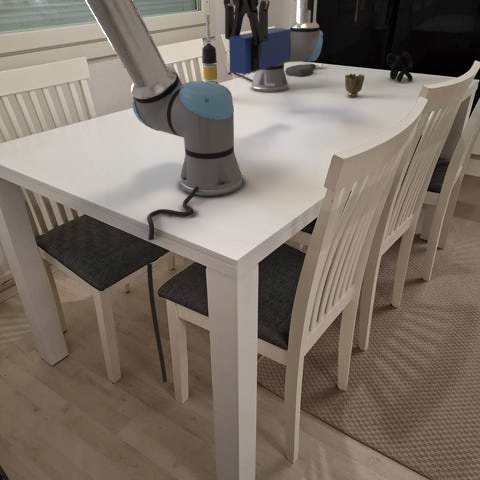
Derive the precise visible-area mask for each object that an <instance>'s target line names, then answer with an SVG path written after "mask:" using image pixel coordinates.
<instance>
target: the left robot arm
mask: <svg viewBox="0 0 480 480" xmlns="http://www.w3.org/2000/svg"><path fill="white" fill-rule="evenodd" d="M85 2H86V4H87V6H88V8H89V9H90V11H91V13H92V15H93V16H94V18H95V19H96V21H97V24H98V25H99V26H100V28H101V30H102V32H103V34H104V35H105V37H106V38H107V41H108V42H109V44H110V45H111V47H112V49H113V51H114V53H115V54H116V56H117V57H118V59H119V61H120V64H121V65H122V66H123V68H124V70H125V71H126V73H127V75H128V77H129V79H130V80H131V82H132V85H131V88H130V92H131V95H132V96H131V98H132V103H131V107H132V110H133V113H134V115H135V117H136V118H137V120H138V121H139V122H140V123H141V124H143V125H144V126H146V127H148V128H150V129H151V130H155V131H158V132H162V133H167V134H169V135H173V136H177V137H180V138H183V143H184V154H185V155H184V158H183V164H182V168H181V171H180V177H179V183H180V184H179V185H180V188H181V189H182V191H184V192H186V193H187V194H188V195H187V197H186V198H185V199H184V200H183V201H182V208H183V209H184V210H185V211H178V210H174V209H168V208H159V209H156V210H153V211H151V212H150V213H148V214H147V216H146V220H147V224H148V230H149V232H148V239H147V240H148V241H153V240H154V236H155V224H154V221H153V218H154V217H155V216H158V215H162V214H163V215H164V214H165V215H171V216H175V217H189V216H191V215H193V214H194V211H195V210H194V208H193V207H191V206H189V205H188V203H189V202H190V201H191V200H192V199H193V198H194V196H199V197H221V196H224V195H229V194H232V193H234V192H235V191H237V190H239V189H240V188H241V187H242V185H243V174H242V171H241V168H240V165H239V163H238V160H237V157H236V154H235V125H234V124H235V121H234V118H235V117H234V114H235V113H234V112H235V108H234V102H233V95H232V92H231V91H230V89H229V87H228V88H227V86H224V85H223V84H220V83H219V82H218V83H215V82H207V81H205V80H193V81H192V80H191V81H188V82H185V83H184V84H183V82H182V80H181V79H180V76H179V74H178V72H177V69H175V68H174V67H173V66H170V65H168V64H167V65H166V63H165V60H164V59H163V57H162V54H161V52H160V50H159V48H158V46H157V44H156V42H155V40H154V39H153V36H152V34H151V32H150V30H149V28H148V27H147V24H146V22H145V20H144V18H143V16H142V14H141V12H140V10H139V8H138V6H137V4H136V2H135V0H85ZM222 3H223V6H224V14H225V15H224V38H225V40H228V41H229V37H231V36H237V35H241V31H242V27H243V26H242V25H243V22H244V17H245V16H246V17H247V19H248V22H249V26H250V31H251V33H252V36H253V41H254V43H252V44H253V45H251V70H257V69H259V57H261V45H262V43H264V42H267V41H268V29H269V8H270V5H271V4H270V3H271V2H270V0H223V2H222ZM146 268H147V269H146V271H147V285H148V286H147V287H148V297H149V304H150V312H151V318H152V324H153V330H154V337H155V342H156V347H157V352H158V358H159V364H160V372H161V378H162V382H163V383H167V382H168V377H167V370H166V364H165V357H164V351H163V346H162V340H161V333H160V329H159V322H158V316H157V308H156V300H155V292H154V279H153V263H152V262H151V263H150V262H146Z"/></svg>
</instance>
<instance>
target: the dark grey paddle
mask: <svg viewBox="0 0 480 480" xmlns="http://www.w3.org/2000/svg"><path fill="white" fill-rule="evenodd" d="M326 67H327V64H324V63H318V62H313V63H307V64H295V65H292V66H288V67H286V68H285V69H284V72H285V75H287V76H294V77H304V76H308V75H311V74H313V72H314V70H315V69H316V68H326Z"/></svg>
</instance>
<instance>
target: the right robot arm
mask: <svg viewBox="0 0 480 480" xmlns="http://www.w3.org/2000/svg"><path fill="white" fill-rule="evenodd" d="M365 2H366V1H365V0H356V7H355V14H354V15H355V16H354V22H355V23H359V22H360V13H361V11H363V10H364V9H365ZM317 5H318V0H294V18H293V22H292V24H290V26H289V29H291V32H290V55H289V62H288V63H296V62H297V63H298V62H299V63H300V62H301V63H303V62H304V63H308V62H315V61H317V60H318V58H320V57H319V56H320V55H321V52H322V48H323V43H324V39H323V38H324V33H323V31H322V30H320V25H319V23H317V8H318V7H317ZM274 28H275V27H270V28H269V29H274ZM279 28H280V29H286V28H285V27H283V26H280V27H279ZM231 74H234V75H236V76H237V77H241V78H242V79H245V80H247V81H249V82H251V89H252V90H253V91H256V92H261V93H278V92H283V91H286V90H287V89H288V87H289V86H288V85H289V84H288V83H289V82H288V80H287V76H286V72H285V63H282V64H279V65H275V66H272V67H268V68H265V69H261V70H258V71H255V72H254V76H253V79H251V78H249V77H247V76H244V75H243V74H241V73H234V72H230V71H229V72H228V74H227V75H231Z"/></svg>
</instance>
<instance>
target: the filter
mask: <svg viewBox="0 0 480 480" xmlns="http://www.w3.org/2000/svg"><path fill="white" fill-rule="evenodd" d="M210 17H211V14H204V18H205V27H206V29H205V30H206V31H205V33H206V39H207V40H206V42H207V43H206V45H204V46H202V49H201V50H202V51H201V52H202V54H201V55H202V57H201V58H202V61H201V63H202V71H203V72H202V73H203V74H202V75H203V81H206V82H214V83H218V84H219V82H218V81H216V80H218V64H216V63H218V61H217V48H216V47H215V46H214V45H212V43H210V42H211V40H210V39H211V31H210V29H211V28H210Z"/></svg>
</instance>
